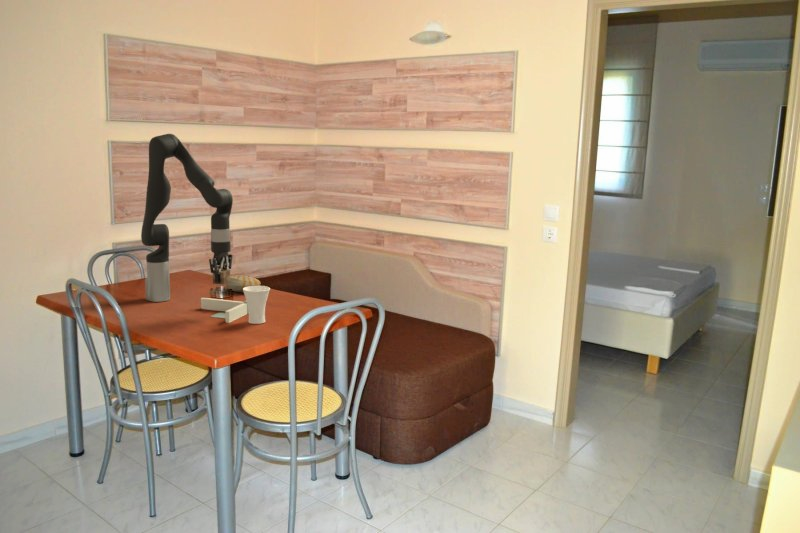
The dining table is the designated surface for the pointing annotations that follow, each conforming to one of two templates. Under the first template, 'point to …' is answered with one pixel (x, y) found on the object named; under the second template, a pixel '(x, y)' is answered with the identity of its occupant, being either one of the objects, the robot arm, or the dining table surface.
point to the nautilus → (241, 282)
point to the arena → (225, 308)
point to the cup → (256, 302)
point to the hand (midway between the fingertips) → (221, 281)
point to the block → (223, 277)
